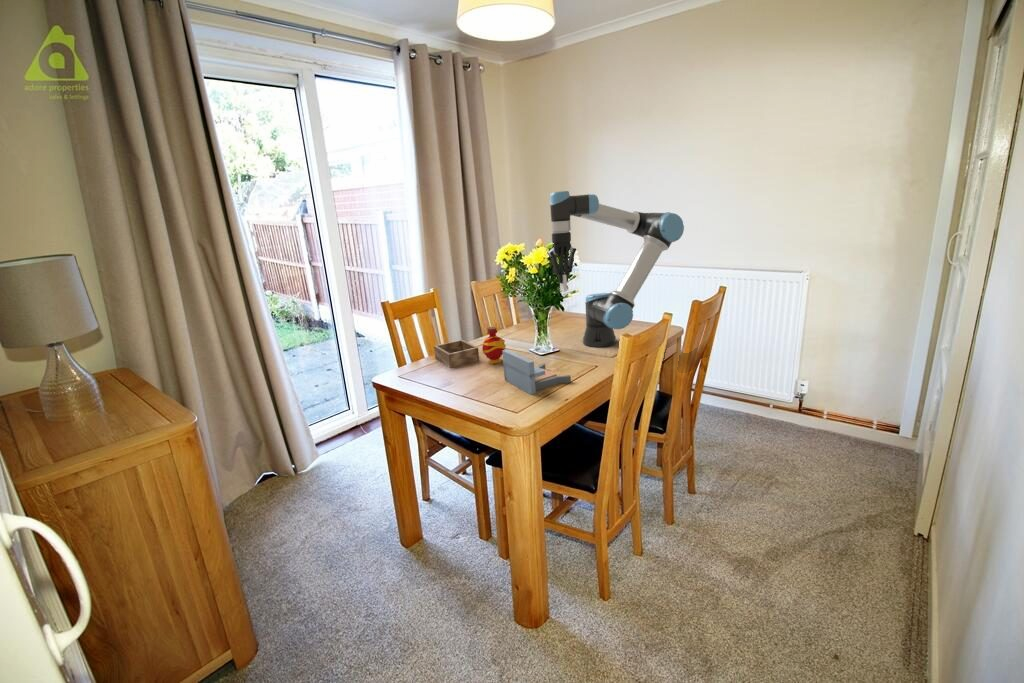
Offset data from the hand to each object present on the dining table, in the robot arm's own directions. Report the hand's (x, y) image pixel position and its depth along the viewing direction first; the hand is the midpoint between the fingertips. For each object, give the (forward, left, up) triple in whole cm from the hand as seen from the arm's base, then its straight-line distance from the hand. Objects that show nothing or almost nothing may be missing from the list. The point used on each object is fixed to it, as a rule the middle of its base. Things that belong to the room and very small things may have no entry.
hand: (563, 290), depth 195 cm
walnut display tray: (+37, -32, -29) cm, 57 cm away
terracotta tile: (+24, +14, -30) cm, 41 cm away
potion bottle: (+25, -18, -30) cm, 43 cm away
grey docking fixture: (+24, +14, -29) cm, 40 cm away
